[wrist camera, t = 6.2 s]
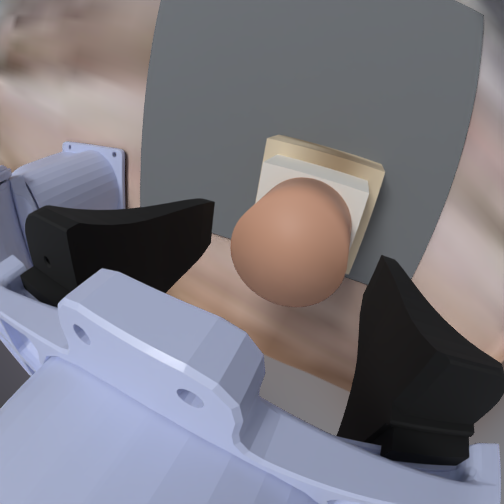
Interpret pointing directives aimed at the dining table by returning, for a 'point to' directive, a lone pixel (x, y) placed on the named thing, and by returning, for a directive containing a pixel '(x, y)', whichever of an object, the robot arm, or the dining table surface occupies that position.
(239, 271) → the tan rounded lump
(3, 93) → the dining table surface
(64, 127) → the dining table surface
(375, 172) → the tower base
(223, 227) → the mat
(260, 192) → the tower top
